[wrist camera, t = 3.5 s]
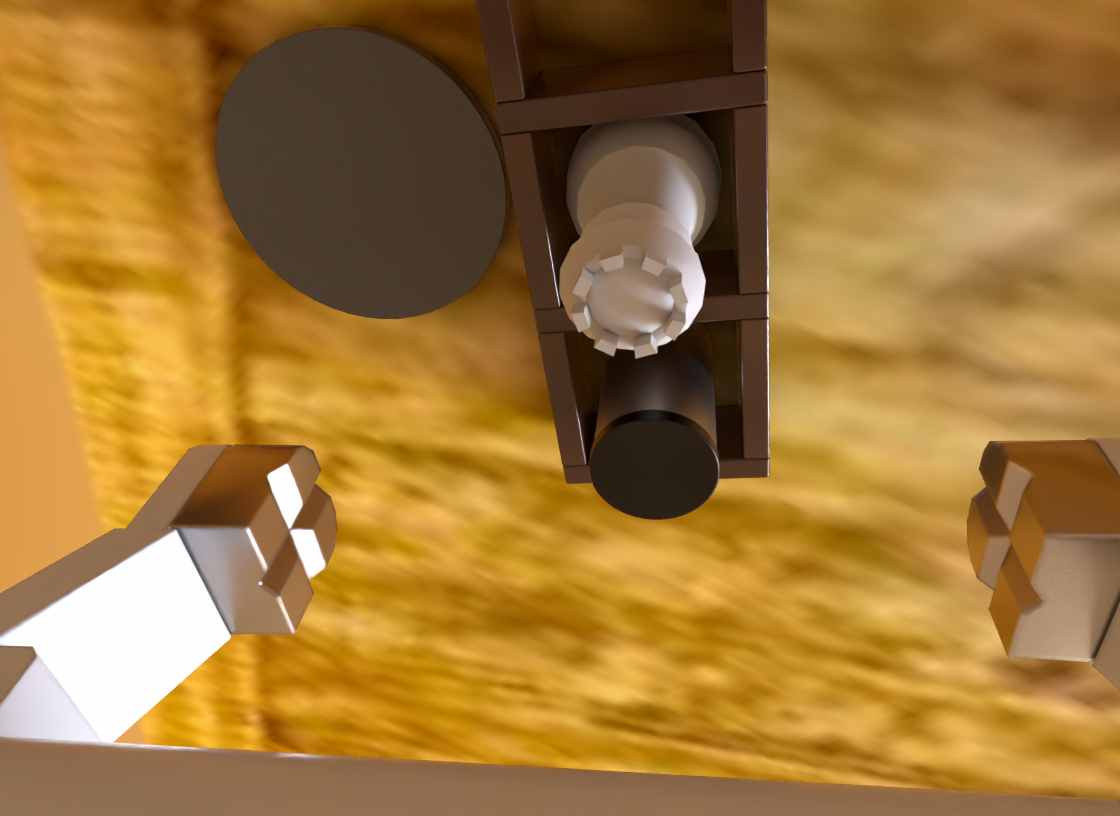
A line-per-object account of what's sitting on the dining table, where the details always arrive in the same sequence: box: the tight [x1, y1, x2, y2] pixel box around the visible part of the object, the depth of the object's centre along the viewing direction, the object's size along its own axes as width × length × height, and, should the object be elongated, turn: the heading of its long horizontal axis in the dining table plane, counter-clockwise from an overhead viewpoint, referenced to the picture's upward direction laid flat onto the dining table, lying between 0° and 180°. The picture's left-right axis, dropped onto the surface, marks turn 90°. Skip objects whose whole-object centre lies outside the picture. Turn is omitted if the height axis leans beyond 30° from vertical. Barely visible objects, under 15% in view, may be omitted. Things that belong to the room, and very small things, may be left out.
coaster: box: [215, 24, 510, 319], centre depth 25 cm, size 9×9×1 cm
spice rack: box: [475, 0, 770, 484], centre depth 23 cm, size 18×7×3 cm, turn 9°
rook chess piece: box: [559, 114, 722, 358], centre depth 21 cm, size 4×4×8 cm
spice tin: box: [589, 322, 720, 520], centre depth 25 cm, size 4×4×6 cm
